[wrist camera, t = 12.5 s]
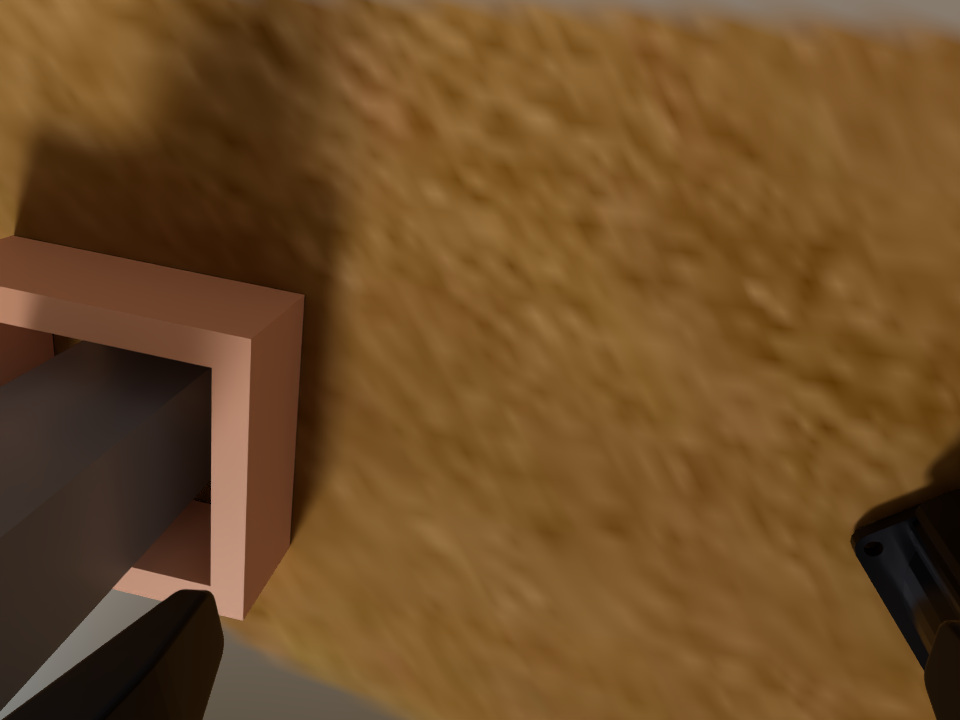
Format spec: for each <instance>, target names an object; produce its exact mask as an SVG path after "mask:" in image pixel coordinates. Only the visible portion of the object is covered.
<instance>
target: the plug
mask: <svg viewBox="0 0 960 720" xmlns="http://www.w3.org/2000/svg"><path fill="white" fill-rule="evenodd" d="M211 427H212V368H210V367H206V366H201V365H196V364H192V363H187V362H182V361H178V360H173V359H168V358H164V357H159V356H154V355H150V354H145V353H140V352H136V351H131V350H126V349H122V348H117V347H112V346H108V345H103V344H98V343H94V342H89V341H84V340H83V341H81V342H79V343H77V344H76V345H74V346H72V347H70V348H69V349H67V350H65V351H63V352H61V353H60V354H58V355H56V356H54V357H53V358H51V359H49V360H47V361H45V362H44V363H42V364H40V365H38V366H37V367H35V368H33V369H31V370H30V371H28V372H26V373H24V374H22V375H21V376H19V377H17V378H15V379H14V380H12V381H10V382H8V383H6V384H5V385H3V386H1V387H0V711H1V710H2V709H3V707H5V706H6V704H7V703H8V702H9V701H10V700H11V699H12V698H13V697H14V696H15V694H17V692H18V691H19V690H20V689H21V688H22V687H23V686H24V685H25V684H26V683H27V681H28V680H29V679H30V678H31V677H32V676H33V675H34V674H35V673H36V672H37V670H38V669H39V668H40V667H41V666H42V665H43V664H44V663H45V661H47V659H48V658H49V657H50V656H51V655H52V654H53V653H54V652H55V651H56V650H57V649H58V647H59V646H60V645H61V644H62V643H63V642H64V641H65V640H66V639H67V638H68V636H69V635H70V634H71V633H72V632H73V631H74V630H75V629H76V628H77V627H78V625H79V624H80V623H81V622H82V621H83V620H84V619H85V618H86V617H87V616H88V615H89V613H90V612H91V611H92V610H93V609H94V608H95V607H96V606H97V605H98V603H99V602H100V601H101V600H102V599H103V598H104V597H105V596H106V595H107V594H108V593H109V591H110V590H111V589H112V588H113V587H114V586H115V585H116V584H117V583H118V582H119V580H120V579H121V578H122V577H123V576H124V575H125V574H126V573H127V572H128V571H129V570H130V568H131V567H132V566H133V565H134V564H135V563H136V562H137V561H138V560H139V559H140V557H141V556H142V555H143V554H144V553H145V552H146V551H147V550H148V549H149V548H150V546H151V545H152V544H153V543H154V542H155V541H156V540H157V539H158V538H159V537H160V535H161V534H162V533H163V532H164V531H165V530H166V529H167V528H168V527H169V526H170V525H171V523H172V522H173V521H174V520H175V519H176V518H177V517H178V516H179V515H180V514H181V512H182V511H183V510H184V509H185V508H186V507H187V506H188V505H189V504H190V503H191V501H192V500H193V499H194V498H195V497H196V496H197V495H198V494H199V493H200V492H201V491H202V489H203V488H204V487H205V486H206V485H207V484H208V483H209V482H210V481H211Z"/></svg>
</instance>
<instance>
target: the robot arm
mask: <svg viewBox="0 0 960 720" xmlns="http://www.w3.org/2000/svg"><path fill="white" fill-rule="evenodd" d="M873 541H876V542H878V544H877V545H875V546H874V547H870V548H867V547H865V545H866V544H868V543H869V542H873ZM850 542H851V545H852V548H853V550H854V552H855V554H856V556H857V558H858V560H859V561H860V563H861V565H862V566H863V568H864V570H865V571H866V573H867V575H868V577H869V578H870V580H871V582H872V583H873V585H874V587H875V588H876V590H877V592H878V593H879V595H880V597H881V599H882V600H883V602H884V604H885V605H886V607H887V609H888V610H889V612H890V614H891V616H892V617H893V619H894V621H895V622H896V624H897V626H898V627H899V629H900V631H901V632H902V634H903V636H904V638H905V639H906V641H907V643H908V644H909V646H910V648H911V649H912V651H913V653H914V654H915V656H916V658H917V660H918V661H919V663H920V665H921V666H922V668H923V670H924V680H925V686H926V690H927V693H928V696H929V699H930V702H931V705H932V708H933V711H934V714H935V716H936V719H937V720H960V489H957V490H955V491H952V492H950V493H947V494H945V495H942V496H939V497H937V498H934V499H932V500H929V501H927V502H924V503H922V504H919V505H917V506H914V507H912V508H909V509H907V510H904V511H902V512H899V513H897V514H894V515H892V516H889V517H886V518H884V519H881V520H879V521H876V522H874V523H871V524H869V525H866V526H864V527H861V528H860V529H858V530H856V531H855V532H854V534H853V535H852V537H851V541H850ZM223 647H224V636H223V631H222V627H221V622H220V618H219V614H218V609H217V605H216V601H215V598H214V595H213V594H212V593H211V592H210V591H208V590H195V589H182V590H178V591H176V592H175V593H173V594H172V595H170V596H169V597H168V598H166V599H165V600H164V601H162V602H161V603H159V604H158V605H157V606H155V607H154V608H153V609H151V610H150V611H149V612H148V613H146V614H145V615H143V616H142V617H140V618H139V619H138V620H136V621H135V622H134V623H133V624H131V625H130V626H128V627H127V628H126V629H124V630H123V631H121V632H120V633H119V634H117V635H116V636H115V637H113V638H112V639H111V640H109V641H108V642H107V643H105V644H104V645H102V646H101V647H100V648H98V649H97V650H96V651H94V652H93V653H92V654H90V655H89V656H88V657H86V658H85V659H84V660H82V661H81V662H79V663H78V664H77V665H75V666H74V667H73V668H71V669H70V670H68V671H67V672H66V673H64V674H63V675H62V676H60V677H59V678H58V679H56V680H55V681H54V682H52V683H51V684H49V685H48V686H47V687H45V688H44V689H43V690H41V691H40V692H39V693H37V694H36V695H35V696H33V697H32V698H31V699H29V700H28V701H26V702H25V703H24V704H23V705H21V706H20V707H18V708H17V709H16V710H14V711H13V712H11V713H10V714H9V715H7V716H6V717H5V718H3V719H2V720H203V716H204V713H205V710H206V707H207V703H208V700H209V697H210V694H211V690H212V687H213V684H214V681H215V677H216V674H217V671H218V668H219V664H220V661H221V658H222V654H223Z"/></svg>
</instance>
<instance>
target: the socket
mask: <svg viewBox="0 0 960 720" xmlns="http://www.w3.org/2000/svg"><path fill="white" fill-rule="evenodd" d="M304 297H305V295H303V294H298V293H293V292H288V291H283V290H278V289H273V288H268V287H263V286H258V285H253V284H249V283H244V282H239V281H234V280H229V279H224V278H219V277H214V276H209V275H204V274H199V273H195V272H190V271H185V270H180V269H175V268H170V267H165V266H160V265H155V264H150V263H145V262H140V261H136V260H131V259H126V258H121V257H116V256H111V255H106V254H101V253H96V252H91V251H86V250H81V249H77V248H72V247H67V246H62V245H57V244H52V243H47V242H42V241H37V240H32V239H27V238H23V237H18V236H10V237H6V238H3V239H0V387H1V386H3V385H5V384H6V383H8V382H10V381H12V380H14V379H15V378H17V377H19V376H21V375H22V374H24V373H26V372H28V371H30V370H31V369H33V368H35V367H37V366H38V365H40V364H42V363H44V362H45V361H47V360H49V359H51V358H53V357H54V346H53V335H52V334H56V335H61V336H66V337H70V338H75V339H80V340H84V341H89V342H94V343H98V344H103V345H108V346H112V347H117V348H122V349H126V350H131V351H136V352H140V353H145V354H150V355H154V356H159V357H164V358H168V359H173V360H178V361H182V362H187V363H192V364H196V365H201V366H206V367H210V368H212V427H211V504H208V503H203V502H199V501H195V500H192V501H191V503H190V504H189V505H188V506H187V507H186V508H185V509H184V510H183V511H182V512H181V514H180V515H179V516H178V517H177V518H176V519H175V520H174V521H173V522H172V523H171V525H170V526H169V527H168V528H167V529H166V530H165V531H164V532H163V533H162V534H161V535H160V537H159V538H158V539H157V540H156V541H155V542H154V543H153V544H152V545H151V546H150V548H149V549H148V550H147V551H146V552H145V553H144V554H143V555H142V556H141V557H140V559H139V560H138V561H137V562H136V563H135V564H134V565H133V566H132V567H131V568H130V570H129V571H128V572H127V573H126V574H125V575H124V576H123V577H122V578H121V579H120V580H119V582H118V583H117V584H116V585H115V586H114V587H113V588H112V589H115V590H119V591H123V592H127V593H132V594H136V595H140V596H144V597H148V598H152V599H157V600H161V601H164V600H165V599H166V598H168V597H169V596H170V595H172V594H173V593H175V592H176V591H178V590H182V589H195V590H208V591H210V592H211V593H212V594H213V595H214V598H215V601H216V605H217V609H218V614H219V615H222V616H226V617H230V618H234V619H238V620H242V621H243V620H244V618H245V617H246V615H247V613H248V612H249V610H250V609H251V607H252V606H253V604H254V602H255V601H256V599H257V598H258V596H259V594H260V593H261V591H262V590H263V588H264V587H265V585H266V583H267V582H268V580H269V579H270V577H271V576H272V574H273V572H274V571H275V569H276V568H277V566H278V564H279V563H280V561H281V560H282V558H283V557H284V555H285V553H286V552H287V550H288V549H289V547H290V532H291V515H292V498H293V482H294V465H295V448H296V431H297V414H298V398H299V381H300V364H301V347H302V331H303V314H304Z"/></svg>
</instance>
